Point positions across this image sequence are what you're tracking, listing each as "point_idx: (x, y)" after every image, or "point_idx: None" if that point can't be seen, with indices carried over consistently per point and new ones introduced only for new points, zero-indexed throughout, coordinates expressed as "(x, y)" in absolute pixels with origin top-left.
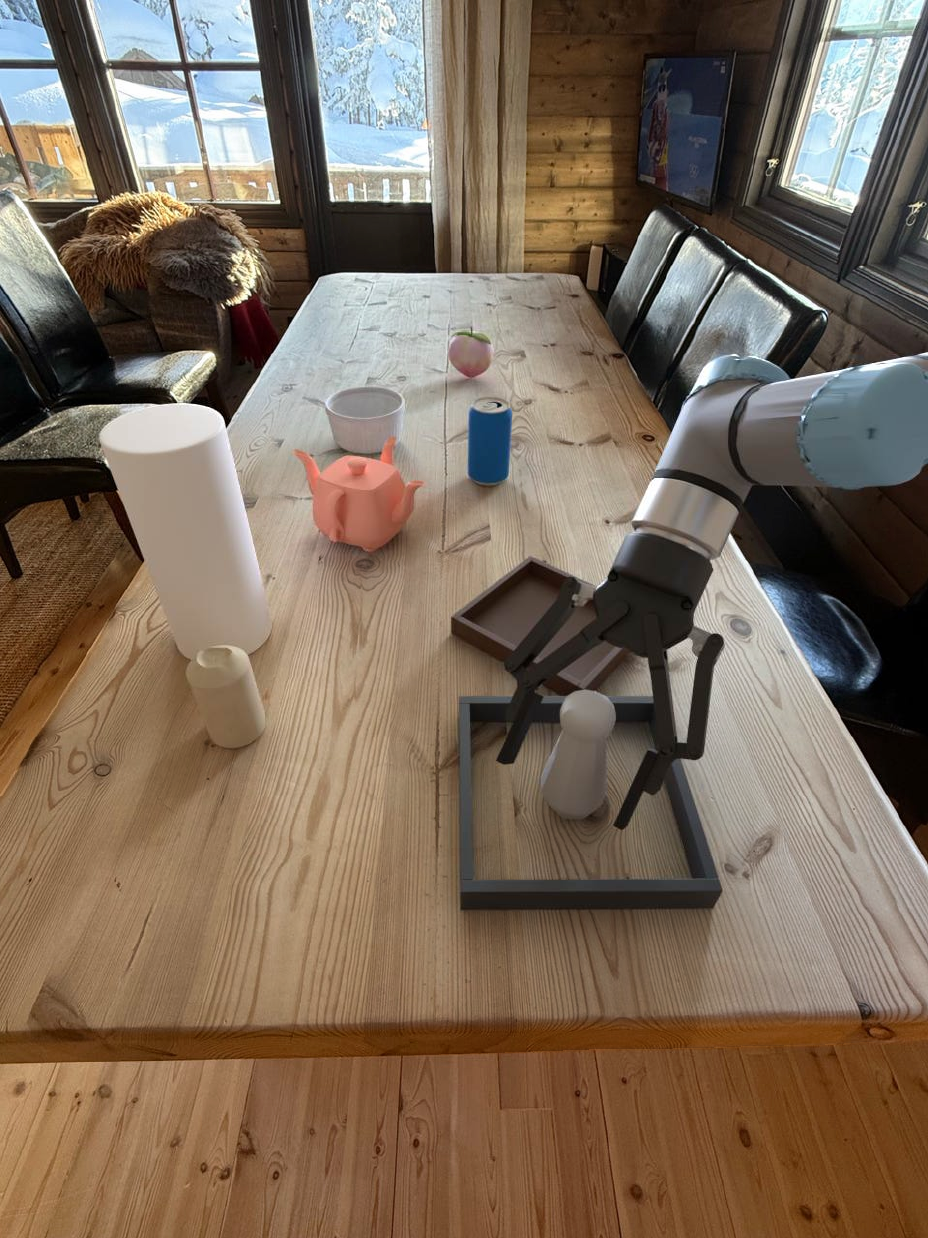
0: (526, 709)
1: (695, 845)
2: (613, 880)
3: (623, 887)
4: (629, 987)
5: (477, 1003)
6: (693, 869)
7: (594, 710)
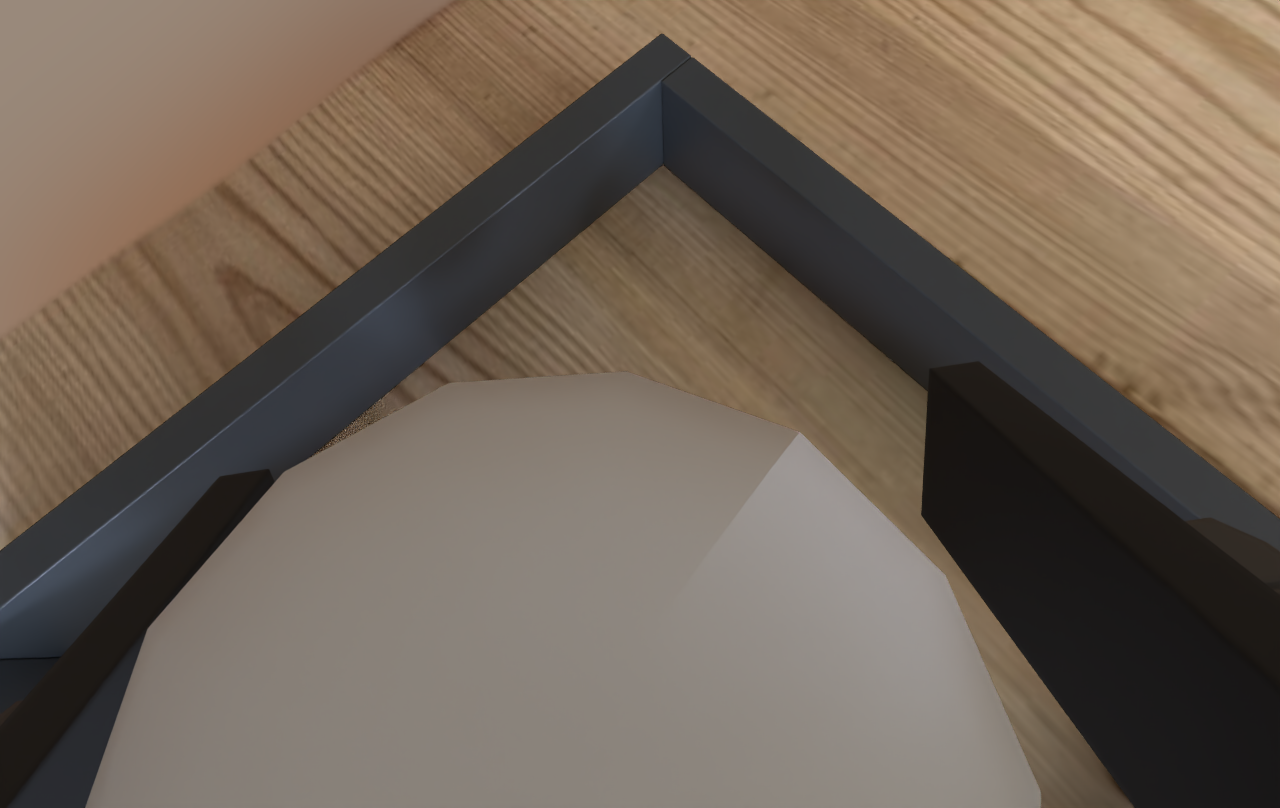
0: (1201, 597)
1: None
2: (265, 391)
3: (220, 391)
4: (179, 272)
5: (479, 16)
6: None
7: (356, 777)
